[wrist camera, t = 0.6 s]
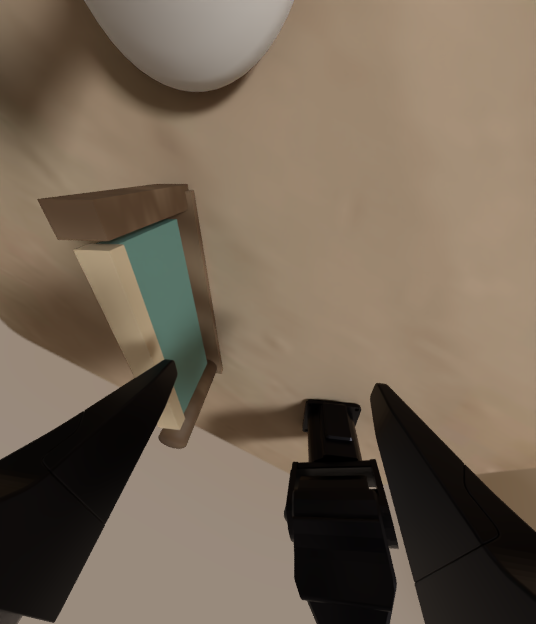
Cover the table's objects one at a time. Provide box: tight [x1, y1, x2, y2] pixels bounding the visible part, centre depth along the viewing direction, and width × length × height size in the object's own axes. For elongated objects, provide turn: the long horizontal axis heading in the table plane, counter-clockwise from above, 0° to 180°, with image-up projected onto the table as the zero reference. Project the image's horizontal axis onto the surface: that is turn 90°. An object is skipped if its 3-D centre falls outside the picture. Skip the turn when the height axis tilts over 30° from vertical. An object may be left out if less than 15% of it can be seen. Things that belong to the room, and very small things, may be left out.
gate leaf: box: [74, 219, 207, 430], centre depth 17 cm, size 15×2×7 cm, turn 0°
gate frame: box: [37, 184, 223, 449], centre depth 18 cm, size 19×3×9 cm, turn 0°
